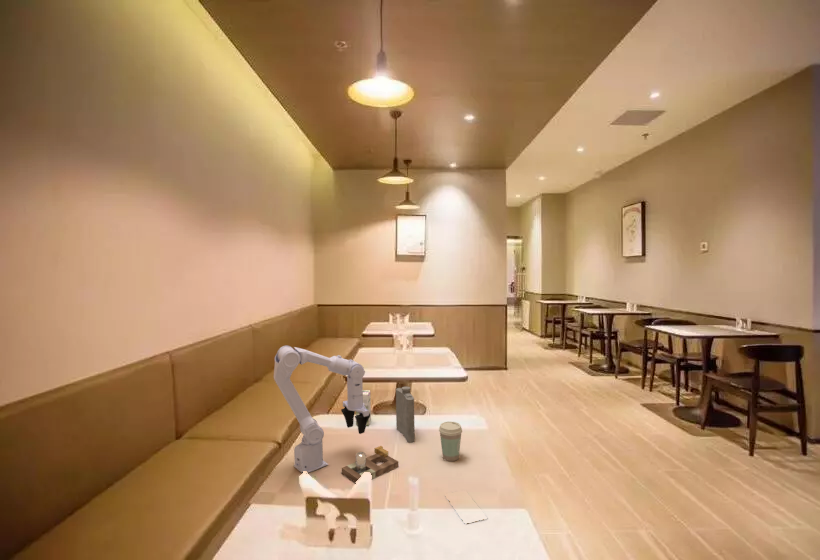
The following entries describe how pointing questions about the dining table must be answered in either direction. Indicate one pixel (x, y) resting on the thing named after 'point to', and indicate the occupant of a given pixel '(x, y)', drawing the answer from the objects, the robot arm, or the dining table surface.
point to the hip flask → (405, 413)
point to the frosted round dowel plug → (360, 462)
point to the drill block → (371, 467)
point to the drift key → (381, 451)
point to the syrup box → (366, 404)
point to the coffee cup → (450, 440)
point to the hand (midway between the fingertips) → (355, 429)
